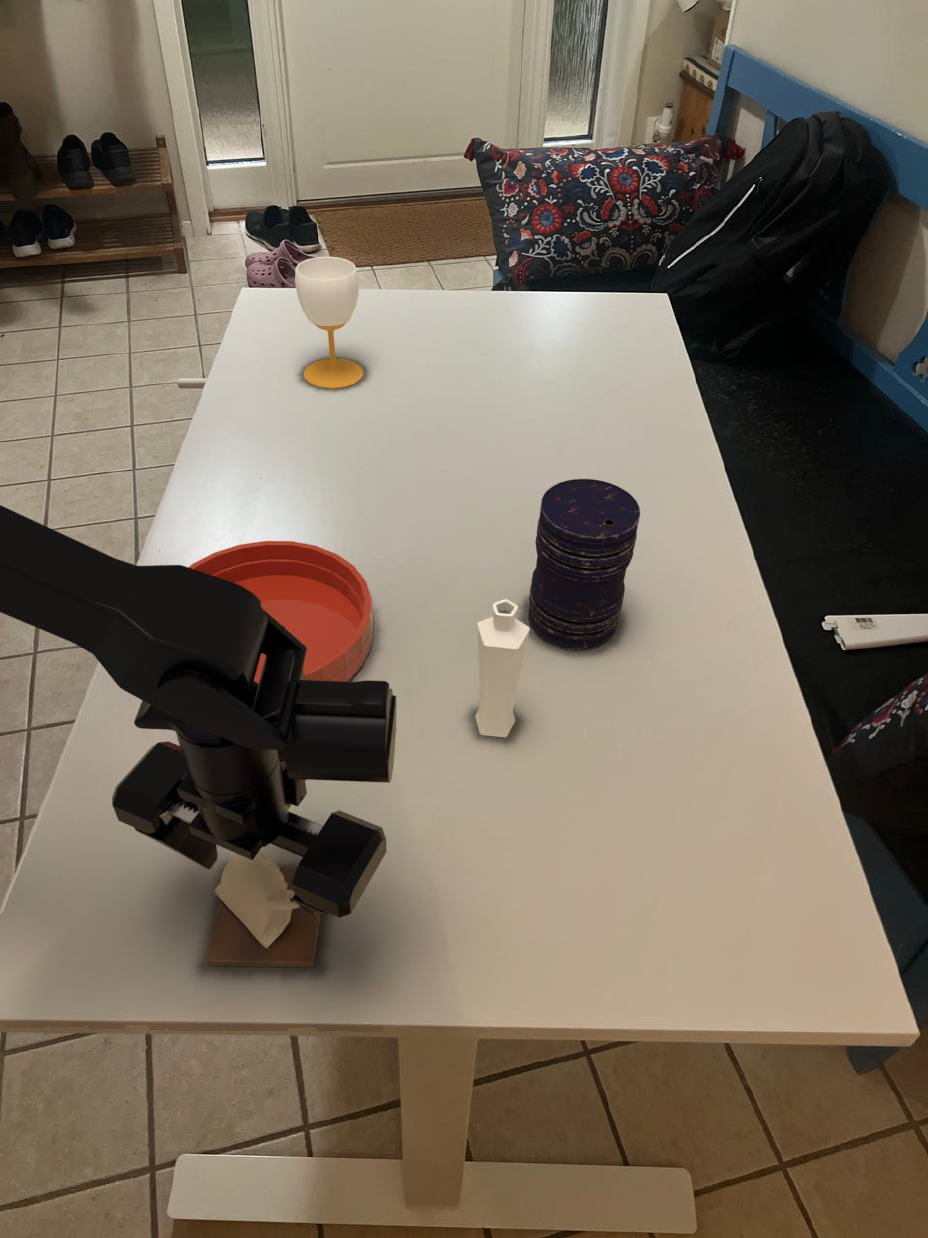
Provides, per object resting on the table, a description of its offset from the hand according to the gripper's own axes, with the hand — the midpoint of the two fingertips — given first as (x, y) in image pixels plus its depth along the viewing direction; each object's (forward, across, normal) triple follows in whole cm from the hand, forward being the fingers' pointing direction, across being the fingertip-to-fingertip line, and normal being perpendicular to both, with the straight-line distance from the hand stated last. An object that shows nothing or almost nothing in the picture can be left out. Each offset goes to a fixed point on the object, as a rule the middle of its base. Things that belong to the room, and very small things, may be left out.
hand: (263, 886), depth 67 cm
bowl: (+5, +17, -27) cm, 32 cm away
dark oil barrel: (+5, -11, -43) cm, 45 cm away
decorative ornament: (+4, +1, 0) cm, 4 cm away
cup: (+5, +39, -79) cm, 88 cm away
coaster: (+5, 0, 0) cm, 5 cm away
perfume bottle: (+5, -9, -26) cm, 28 cm away
